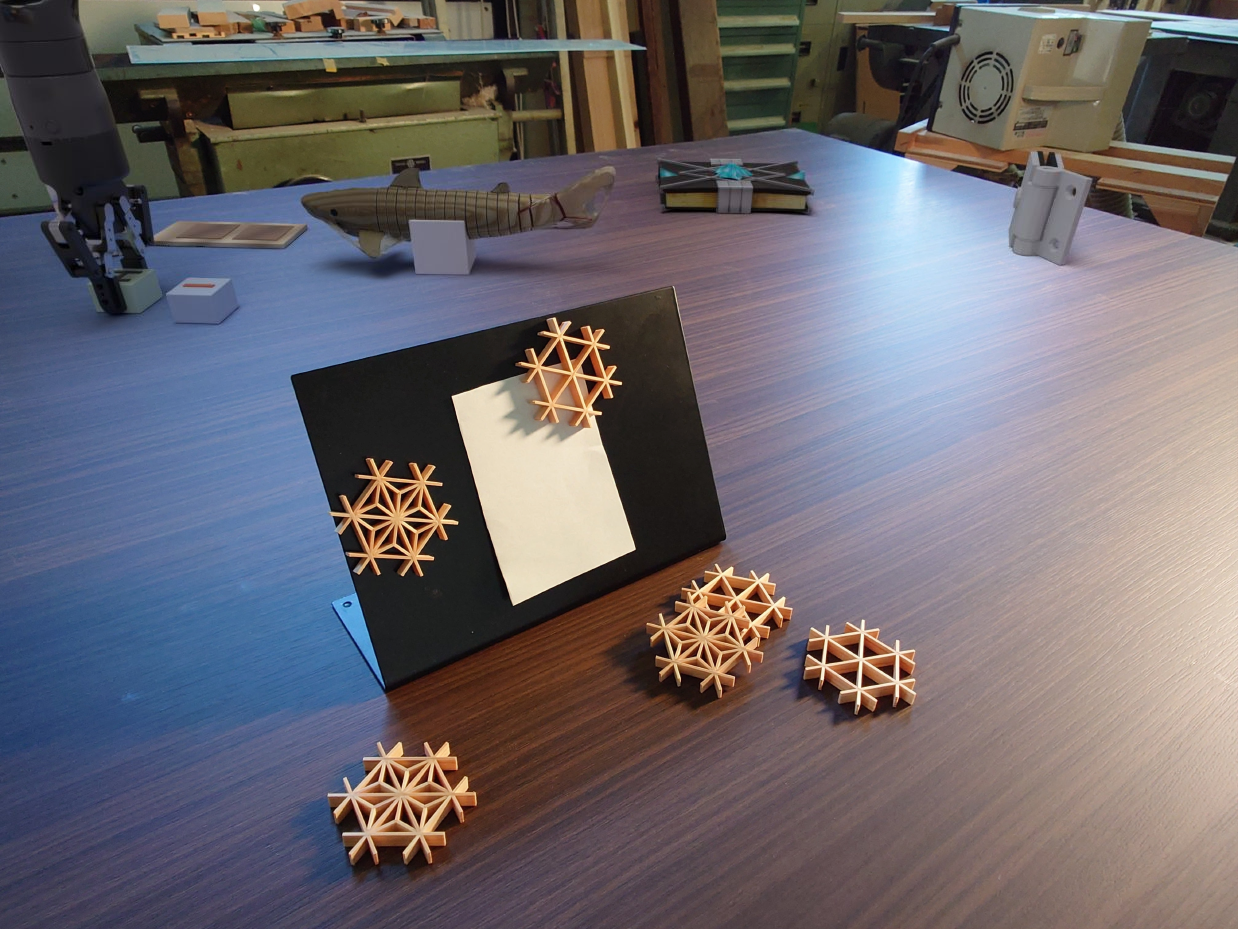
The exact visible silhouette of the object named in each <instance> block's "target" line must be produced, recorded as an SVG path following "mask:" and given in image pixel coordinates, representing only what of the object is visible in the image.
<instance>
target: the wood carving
mask: <svg viewBox="0 0 1238 929" xmlns="http://www.w3.org/2000/svg"><path fill="white" fill-rule="evenodd" d="M420 171H421V168H419V167H408V168H405V169H403V170H402V171H400V172H399V173H398V174H397V175H396V176H395V177H394V179H393V180H392V181H391V182H390V184H389V186H381V187H377V188H376V187H348V188H343V189H337V188H335V189H332V190H328V191H316V192H309V193H307V194H305V195H303V196H301V197H300V198H301V199H300V204H301V205H302V206H301V207H303V209H305V211H306V212H307V213H308V214H309V215H310V216H311V217H312V218H315V219H317V220H319V221H322V222H323V223H324V224H326V225H327V226H328V227H329V228H330V229H331V230H333V231H334V232H335V233H337V234H338V235H339V236H340V237H342V238H343V239H345V240H347V241H348V242H350V243H351V244H352V245H353V246H354V247H356V248H357V249H358V250H360V252H362V253H364V254H365V255H366V256H368V257H369V258H371V259H374V260H376V259H377V258H379V257H382V256H384V255H386V254H390V253H391V252H394V251H396V249H394V250H391V251H387V250H388V249H390V248H393V247H394V246H396V245H397V244H401V243H403V242H407V243H411V250H412V256H413V263H414V264H413V265H414V270H415V275H463V276H464V275H465V276H466V275H470V273H471V271H472V268H473V265H474V262H475V260H476V259H477V250H476V240H478V239H488V238H499V237H504V236H511V235H516V234H522V233H528V232H533V231H540V230H542V231H543V230H565V231H566V230H567V231H568V230H584V229H585V230H586V229H590V228H593V227H594V226H595V225H596V223H597V221H598V220H599V217H600V215H601V213H602V211H603V209H604V207H605V205H606V203H607V201H608V199H609V198H610V195H611V193H612V190H613V187H614V184H615V181H616V176H617V170H616V169H615V167H613V166H611V165H610V166H609V165H606V166H604V167H601V168H598V169H595V170H594V171H592V172H589V173H587V174H586V175H584V176H583V177H581V178H580V179H578V180H575V182H573V183H571V184H569V185H568V186H566V187H565V188H563V189H561V190H559V191H557V192H552V193H547V194H546V193H523V192H512V191H511V188H510V186H509V184H508V182H499V183H498V184H496V186H495V187H493V189H492V190H489V191H487V190H477V189H469V190H463V189H455V188H454V189H448V190H446V189H442V188H441V189H435V188H432V189H425V188H424V186H423V185H422V184H421V178H420ZM603 188H604V192H605V197H604V200H603V202H602V205H601V207H600V210H599V211H598V210H597V209H596V207H595V201H596V196H597V194H598V193H599V191H601V189H603ZM559 223H569V224H570V225H565V226H561V225H560V226H557V225H558V224H559ZM350 236H351V237H354V238H358V241H357V240H353V239H351V237H350Z"/></svg>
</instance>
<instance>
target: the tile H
mask: <svg viewBox="0 0 1238 929" xmlns="http://www.w3.org/2000/svg"><path fill="white" fill-rule="evenodd" d="M114 272H115V274H114V276H117V278H118V281H119V283H120V288H121V290H122V293H123V296H124V299H125V302H126V305H127V310H126V311H125V312H123V313H122V314H142V313H143V312H144V311H146V310H147V309H148V308H150V307H151V306H152V305H154V304H155V303H156V302H158V301H159V300H160V299H162V298H163V297H164V295H163V292H162V288H161V285H160V283H159V280H158V275H157V273H156V269H154V268H148V269H123V268H119V267H114ZM86 286H87V289H88V292H89V295H90V298H91V300H92V302H93V305H94V308H95V311H96V313H106V312H105V311H103V309H102V308H101V306H100V304H99V302H98V299H97V296H96V294H95V291H94V288H93V285H92V283H91V281H89V282H88V283H86Z"/></svg>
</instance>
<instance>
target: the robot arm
mask: <svg viewBox="0 0 1238 929" xmlns="http://www.w3.org/2000/svg"><path fill="white" fill-rule="evenodd" d="M80 17H81V16H80V0H0V68H1V72H2V73H3V77H4V80H5V84H6V88H7V93H8V97H9V101H10V104H11V108H12V110H13V112H14V115H15V118H16V120H17V123H18V126H19V128H20V132H21V134H22V137H23V139H24V142H25V145H26V148H27V150H28V153H29V156H30V158H31V160H32V163H33V166H34V168H35V171H36V174H37V177H38V179H39V180H40V181H41V183H43V184H44V185H45V184H46V185H49V186H50V187H52V188H53V189H54V190H55V191H56V194H57V199H58V210H59V212H60V213H59V214H58V216H57V215H56V216H55V218H54V219H53V220H42V221H41V222H40V230H41V232H42V233H43V235H44V237H45V238H46V240H47V242H48V243H49V244H50V246H51V249H52V250H53V252H55V254H56V256H57V257H58V258H59V260H60V262H61V263H62V265H63V267H64V269H65V270H66V271H67V273H68V275H69V276H70V277H71V278H73V279H81V278H83V279H88V280H89V282H91V283H92V285H93V288H94V291H95V294H96V296H97V299H98V302H99V304H100V306H101V308H102V309H103V311H105V312H104V313H107V314H124V313H123V312H125V311H126V310H127V305H126V302H125V299H124V296H123V293H122V290H121V288H120V283H119V281H118V278H117V276H114V274H115V272H114V268H115V264H114V259H113V256H112V254H113V253H114V252H115V251H117V253H118V255H117V256H119V257H122V258H120V259H119V262H120V264H121V267H122V269H149V267H148V264H147V261H146V258H145V257H147V255H148V250H147V247H148V246H154V245H153V243H154V231H153V230H154V229H153V223H152V216H151V209H150V203H149V202H150V201H149V196H148V190H147V187H146V186H145V185H144V184H126V183H125V181H124V179H126V178H127V177H129V175H130V173H131V167H130V163H129V161H128V157H127V154H126V151H125V147H124V145H123V141H122V138H121V135H120V131H119V129H118V125H117V122H116V119H115V115H114V112H113V109H112V107H111V103H110V100H109V97H108V94H107V92H106V90H105V88H104V85H103V84H102V81H101V79H100V77H99V74H98V71H97V69H96V66H95V62H94V59H93V56H92V53H91V50H90V47H89V43H88V40H87V37H86V34H85V31H84V27H83V25H82V23H81V18H80ZM46 185H45V186H46ZM138 221H139V223H140V226H139V223H138ZM85 238H86V239H88V240H102V242H101V243H100V244H89V243H88V242H87V241H86V239H85ZM93 252H97V253H98V254H99V256H100V257H99V261H100V264H99V263H98V261H97V260H96V258H94V256H93ZM76 259H79V260H76ZM78 261H80V264H79V263H78Z"/></svg>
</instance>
